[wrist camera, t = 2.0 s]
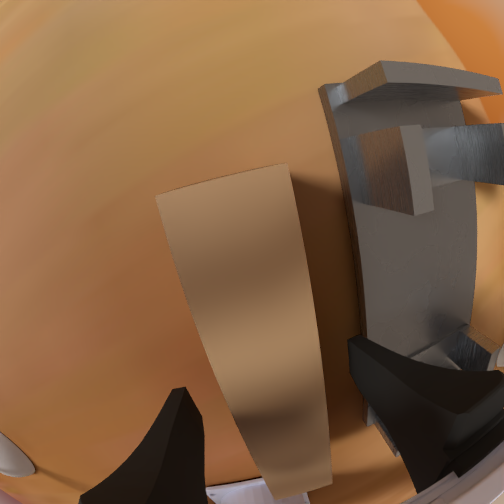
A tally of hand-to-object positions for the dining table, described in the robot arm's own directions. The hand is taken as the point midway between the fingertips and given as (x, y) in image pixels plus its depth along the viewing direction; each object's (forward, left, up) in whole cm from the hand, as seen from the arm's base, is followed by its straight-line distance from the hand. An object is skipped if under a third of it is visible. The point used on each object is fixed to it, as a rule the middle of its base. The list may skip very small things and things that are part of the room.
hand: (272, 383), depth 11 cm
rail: (0, 0, -3) cm, 3 cm away
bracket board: (+1, -10, -3) cm, 10 cm away
